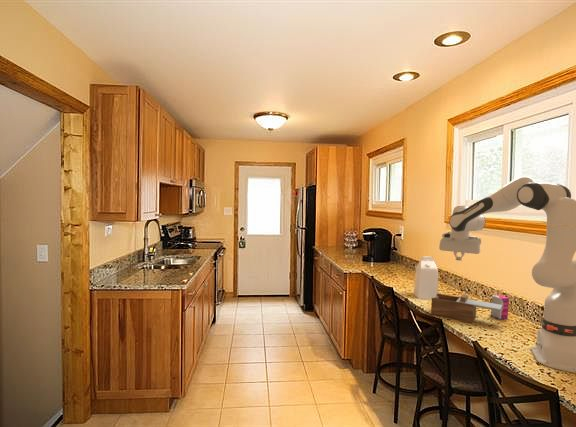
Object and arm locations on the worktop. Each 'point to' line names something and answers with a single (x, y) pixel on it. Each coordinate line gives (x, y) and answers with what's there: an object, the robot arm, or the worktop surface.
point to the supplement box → (504, 311)
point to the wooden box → (452, 308)
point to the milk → (426, 279)
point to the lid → (479, 303)
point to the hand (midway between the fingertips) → (458, 260)
